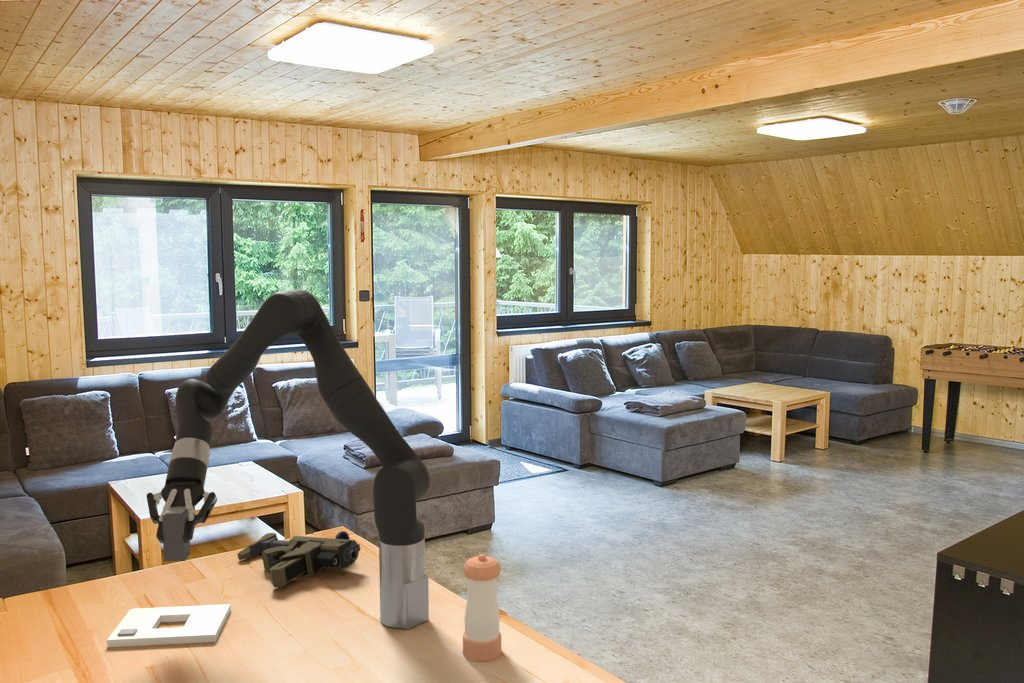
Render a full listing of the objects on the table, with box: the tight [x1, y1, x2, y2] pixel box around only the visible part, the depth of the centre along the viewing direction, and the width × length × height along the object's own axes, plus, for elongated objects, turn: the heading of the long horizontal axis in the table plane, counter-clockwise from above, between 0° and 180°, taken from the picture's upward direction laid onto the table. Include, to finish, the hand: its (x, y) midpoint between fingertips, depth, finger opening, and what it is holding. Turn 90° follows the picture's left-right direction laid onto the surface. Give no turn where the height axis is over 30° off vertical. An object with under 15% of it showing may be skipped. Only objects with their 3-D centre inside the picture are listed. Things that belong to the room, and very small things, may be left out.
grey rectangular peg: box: [162, 507, 191, 562], centre depth 167 cm, size 4×4×10 cm
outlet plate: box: [106, 603, 232, 648], centre depth 169 cm, size 20×14×2 cm
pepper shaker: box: [462, 553, 502, 663], centre depth 158 cm, size 7×7×19 cm
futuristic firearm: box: [237, 530, 361, 588], centre depth 200 cm, size 7×31×25 cm
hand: (173, 541), depth 165 cm, fingers closed on grey rectangular peg, 4 cm apart
